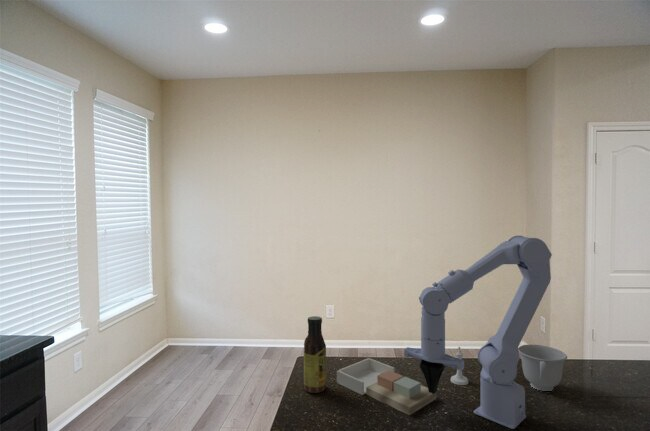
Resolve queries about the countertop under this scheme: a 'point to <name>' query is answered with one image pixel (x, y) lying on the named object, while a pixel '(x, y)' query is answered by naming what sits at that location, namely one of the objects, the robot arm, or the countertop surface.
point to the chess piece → (459, 373)
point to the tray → (361, 374)
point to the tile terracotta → (388, 379)
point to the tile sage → (407, 387)
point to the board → (401, 398)
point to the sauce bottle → (314, 357)
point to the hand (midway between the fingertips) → (432, 391)
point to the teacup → (542, 366)
